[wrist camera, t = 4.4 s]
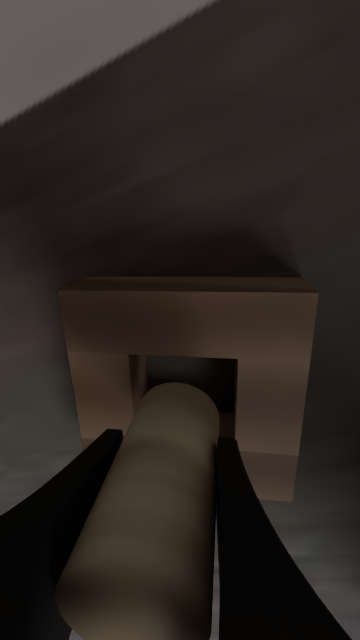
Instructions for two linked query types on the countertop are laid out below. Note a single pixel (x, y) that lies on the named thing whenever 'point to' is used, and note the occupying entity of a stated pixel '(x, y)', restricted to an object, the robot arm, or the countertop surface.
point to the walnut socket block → (198, 341)
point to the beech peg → (150, 528)
